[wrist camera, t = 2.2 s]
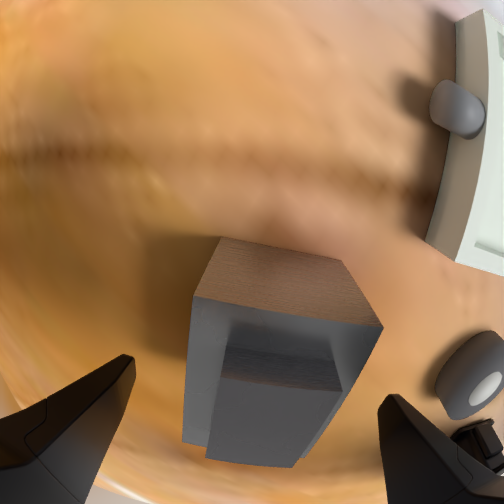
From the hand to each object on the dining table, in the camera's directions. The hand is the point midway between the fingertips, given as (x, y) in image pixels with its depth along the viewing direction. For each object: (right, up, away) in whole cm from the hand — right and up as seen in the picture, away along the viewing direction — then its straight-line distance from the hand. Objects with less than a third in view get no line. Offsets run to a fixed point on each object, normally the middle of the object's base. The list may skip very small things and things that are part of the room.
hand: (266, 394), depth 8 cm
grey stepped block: (0, +2, +4) cm, 5 cm away
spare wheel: (+14, -3, +5) cm, 16 cm away
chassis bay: (+14, +9, +1) cm, 17 cm away
